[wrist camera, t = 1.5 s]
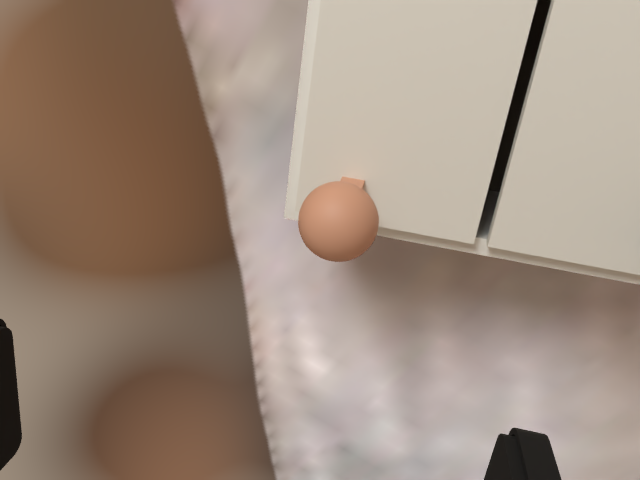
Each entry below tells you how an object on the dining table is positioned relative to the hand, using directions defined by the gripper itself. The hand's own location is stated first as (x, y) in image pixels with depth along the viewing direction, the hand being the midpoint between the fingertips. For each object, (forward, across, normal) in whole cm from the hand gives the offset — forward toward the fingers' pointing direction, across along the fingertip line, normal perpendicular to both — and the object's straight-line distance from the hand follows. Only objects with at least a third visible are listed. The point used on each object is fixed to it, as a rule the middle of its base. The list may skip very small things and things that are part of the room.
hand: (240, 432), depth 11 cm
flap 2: (+16, -11, -5) cm, 20 cm away
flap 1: (+16, -2, -5) cm, 17 cm away
